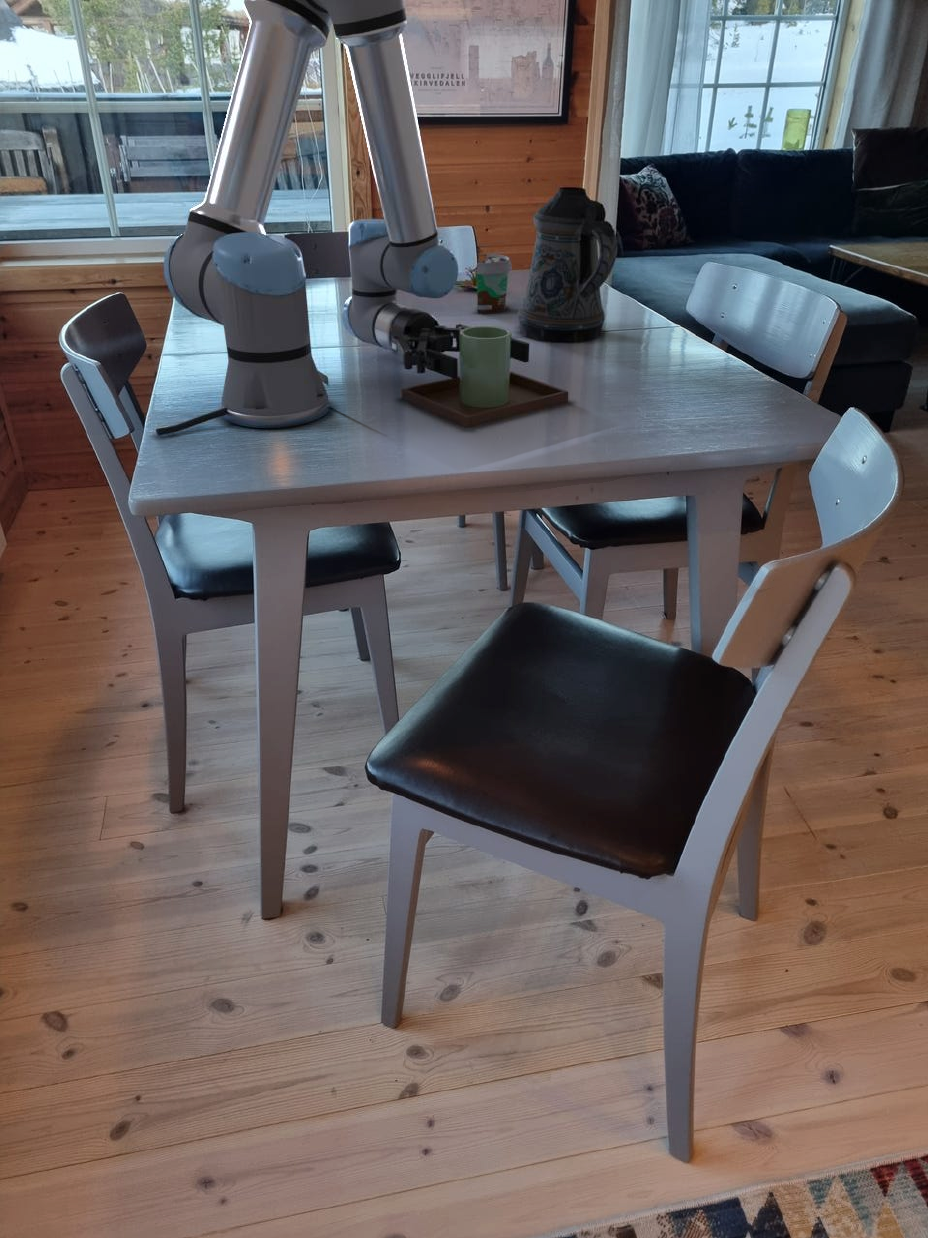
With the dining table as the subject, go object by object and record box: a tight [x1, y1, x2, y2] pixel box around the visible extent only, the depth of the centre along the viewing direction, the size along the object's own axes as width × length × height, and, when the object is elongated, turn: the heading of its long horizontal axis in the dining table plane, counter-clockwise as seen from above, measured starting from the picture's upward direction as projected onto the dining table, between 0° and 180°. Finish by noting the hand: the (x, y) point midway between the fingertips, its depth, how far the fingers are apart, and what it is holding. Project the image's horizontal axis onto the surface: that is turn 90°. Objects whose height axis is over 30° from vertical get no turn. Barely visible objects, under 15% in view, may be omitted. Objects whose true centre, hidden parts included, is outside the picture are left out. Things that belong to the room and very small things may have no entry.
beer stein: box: [517, 186, 618, 343], centre depth 161 cm, size 16×19×25 cm
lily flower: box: [455, 266, 477, 290], centre depth 202 cm, size 12×12×5 cm
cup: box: [459, 325, 512, 408], centre depth 129 cm, size 7×7×10 cm
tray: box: [400, 370, 569, 429], centre depth 131 cm, size 19×16×2 cm
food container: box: [476, 253, 513, 315], centre depth 182 cm, size 12×6×10 cm, turn 168°
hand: (492, 360), depth 127 cm, fingers open, 13 cm apart
